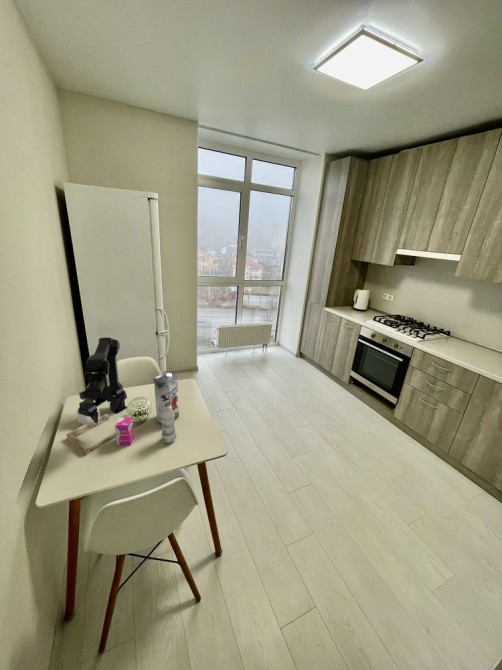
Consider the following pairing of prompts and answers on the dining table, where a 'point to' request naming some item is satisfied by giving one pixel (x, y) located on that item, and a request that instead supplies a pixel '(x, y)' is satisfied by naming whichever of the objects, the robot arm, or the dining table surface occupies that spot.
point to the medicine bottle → (83, 418)
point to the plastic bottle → (167, 423)
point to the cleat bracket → (73, 434)
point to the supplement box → (124, 431)
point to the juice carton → (166, 392)
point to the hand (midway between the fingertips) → (105, 416)
